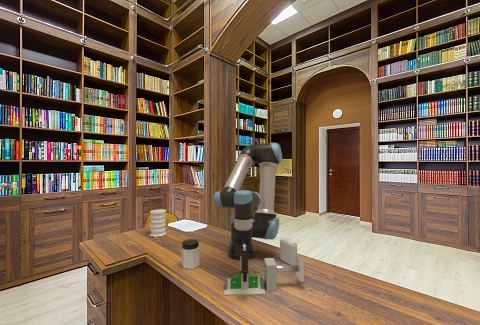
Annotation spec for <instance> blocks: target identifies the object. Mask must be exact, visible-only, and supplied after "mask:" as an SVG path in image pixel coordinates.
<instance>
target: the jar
mask: <svg viewBox="0 0 480 325" xmlns="http://www.w3.org/2000/svg"><path fill="white" fill-rule="evenodd" d="M199 243H200V241H199V240H198V239H194V238H190V239H185V240H183V241H182V242H181V267H182V266H183V267H182V268H183V269H184V268H188V269H187V270H194V269H196V268H197V266H198V267H199V266H200V245H199ZM195 267H196V268H195ZM193 268H194V269H193Z"/></svg>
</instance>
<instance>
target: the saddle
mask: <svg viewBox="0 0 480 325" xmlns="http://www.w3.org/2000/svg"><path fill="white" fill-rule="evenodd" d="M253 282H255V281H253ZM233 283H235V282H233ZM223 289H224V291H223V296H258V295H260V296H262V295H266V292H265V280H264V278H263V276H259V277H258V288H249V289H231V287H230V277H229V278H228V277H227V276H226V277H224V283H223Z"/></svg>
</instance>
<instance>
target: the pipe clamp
mask: <svg viewBox="0 0 480 325" xmlns="http://www.w3.org/2000/svg"><path fill="white" fill-rule="evenodd" d="M229 278H230V287H231V289H241V273H240V272H237V274H236V275H233V276H232V275H231V276H230V277H229ZM258 278H259V275H258V274H257V275H251V273H250V272H249V273H248V288H258ZM253 281H255V282H253ZM233 282H235V283H233Z"/></svg>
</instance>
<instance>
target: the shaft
mask: <svg viewBox="0 0 480 325" xmlns="http://www.w3.org/2000/svg"><path fill="white" fill-rule="evenodd" d="M304 265H305V264H304V260H303V259H302V258H301V257H300V255H297V256H296V265H290V264H288V265H287V264H286V265H285V264H284V265H282V264H281V265H277V273H290V272H291V273H295V277H297V280H298V281H299V282H300V283H303V282H305V280H304V279H305V278H304V277H305V276H304V275H305V272H304V271H305V270H304V268H305V267H304ZM262 271H263V272H262V273H264V272H266V266H264V265H262Z"/></svg>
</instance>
